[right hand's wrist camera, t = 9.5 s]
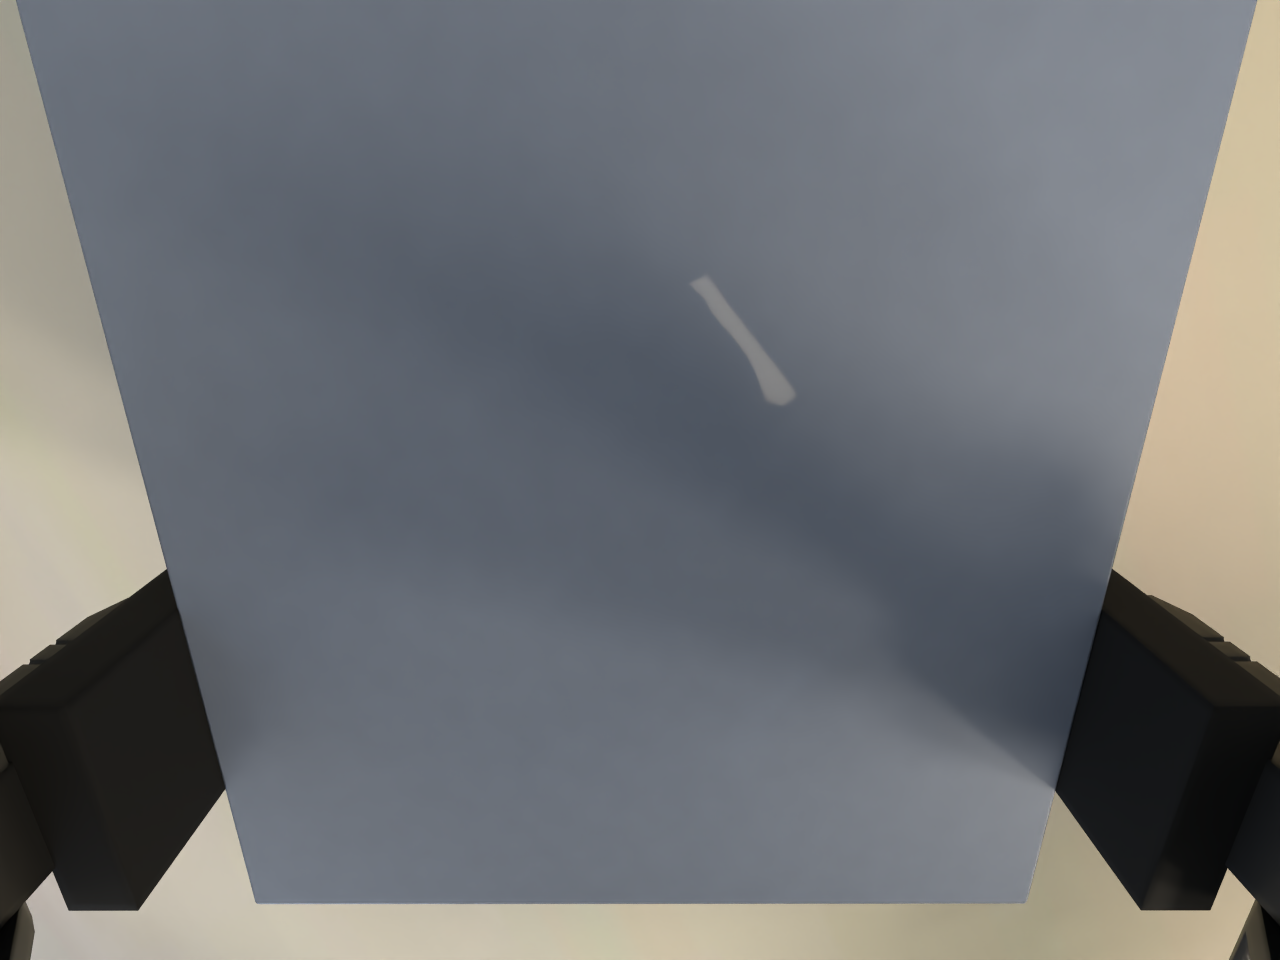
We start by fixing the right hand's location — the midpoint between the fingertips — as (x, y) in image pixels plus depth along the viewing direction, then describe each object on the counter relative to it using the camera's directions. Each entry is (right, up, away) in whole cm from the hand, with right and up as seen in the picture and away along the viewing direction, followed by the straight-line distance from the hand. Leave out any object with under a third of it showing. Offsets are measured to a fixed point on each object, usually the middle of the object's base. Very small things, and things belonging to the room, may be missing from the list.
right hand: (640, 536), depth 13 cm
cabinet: (0, +8, +2) cm, 9 cm away
